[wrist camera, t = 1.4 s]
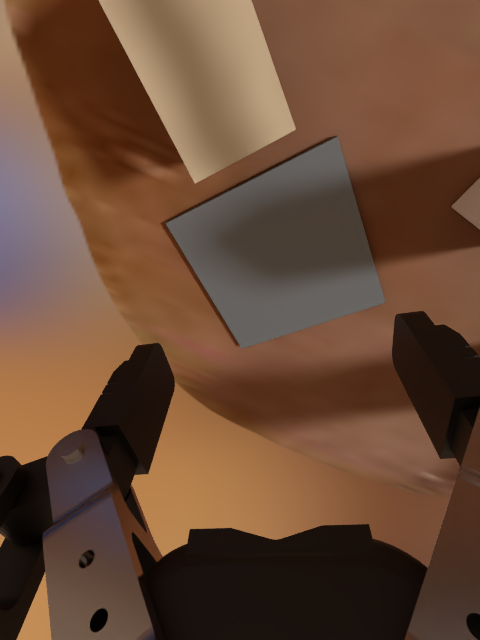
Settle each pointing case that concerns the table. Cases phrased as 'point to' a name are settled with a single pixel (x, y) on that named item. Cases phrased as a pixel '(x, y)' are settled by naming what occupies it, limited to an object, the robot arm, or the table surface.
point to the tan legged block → (204, 76)
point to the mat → (283, 248)
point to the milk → (470, 204)
